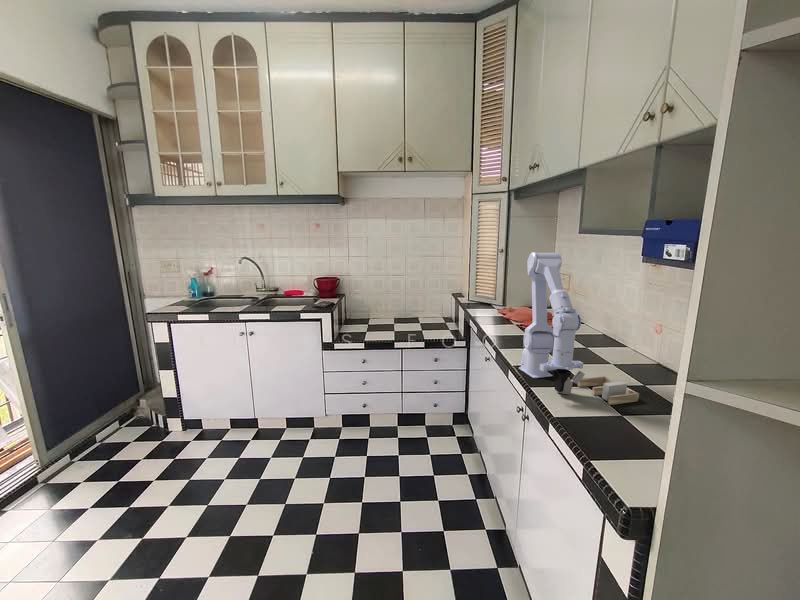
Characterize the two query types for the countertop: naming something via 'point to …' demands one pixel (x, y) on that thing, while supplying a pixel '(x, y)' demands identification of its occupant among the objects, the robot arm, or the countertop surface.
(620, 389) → the grey block
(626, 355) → the countertop surface
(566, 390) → the lighter
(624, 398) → the rack
